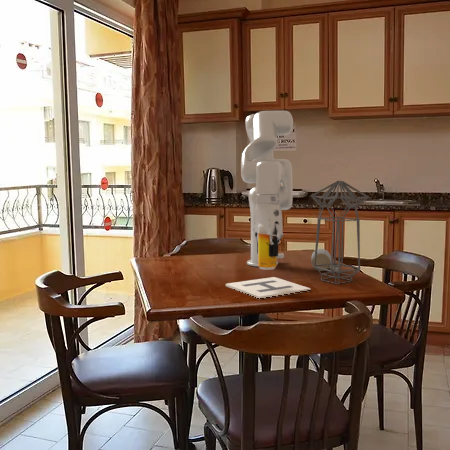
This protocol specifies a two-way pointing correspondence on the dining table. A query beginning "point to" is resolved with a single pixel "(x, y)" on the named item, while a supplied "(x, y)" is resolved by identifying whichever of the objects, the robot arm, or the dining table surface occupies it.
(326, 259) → the ceramic mug
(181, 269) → the dining table surface
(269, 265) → the beer can
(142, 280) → the dining table surface
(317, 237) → the geometric lantern
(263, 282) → the letter board
